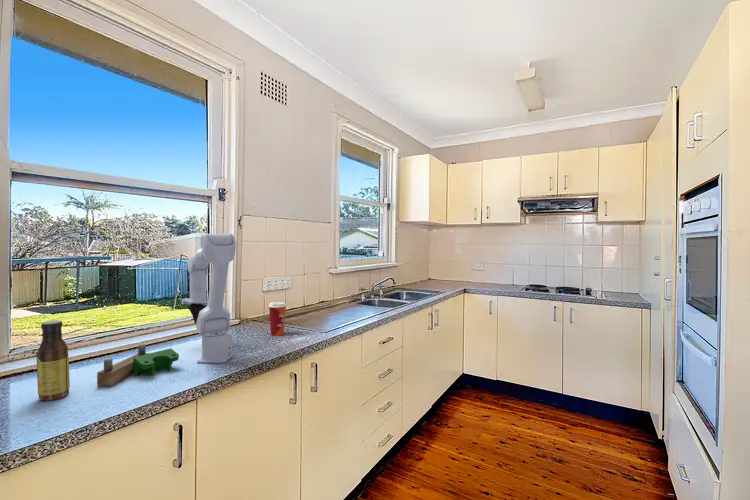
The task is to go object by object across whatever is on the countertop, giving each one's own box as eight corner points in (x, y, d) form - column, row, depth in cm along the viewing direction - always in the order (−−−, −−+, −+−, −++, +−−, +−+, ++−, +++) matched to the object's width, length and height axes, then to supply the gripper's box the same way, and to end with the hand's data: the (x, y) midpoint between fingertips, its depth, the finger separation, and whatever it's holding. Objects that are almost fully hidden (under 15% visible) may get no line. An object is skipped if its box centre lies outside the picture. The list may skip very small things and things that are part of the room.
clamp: (146, 391, 109) (137, 369, 105) (137, 382, 112) (127, 360, 108) (184, 366, 118) (177, 345, 114) (174, 358, 121) (167, 338, 117)
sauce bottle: (51, 392, 97) (50, 318, 97) (75, 391, 98) (75, 318, 98) (30, 403, 91) (29, 324, 91) (56, 402, 91) (55, 324, 91)
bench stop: (150, 365, 120) (150, 344, 119) (111, 386, 102) (111, 361, 101) (138, 365, 120) (138, 344, 119) (97, 386, 102) (97, 361, 101)
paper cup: (283, 336, 157) (283, 304, 157) (266, 336, 157) (266, 304, 157) (288, 332, 165) (288, 301, 164) (271, 332, 165) (271, 301, 164)
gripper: (174, 288, 138) (174, 324, 138) (205, 290, 133) (205, 327, 133) (189, 286, 144) (189, 320, 145) (219, 288, 140) (219, 323, 140)
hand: (198, 323), depth 139 cm, fingers closed
